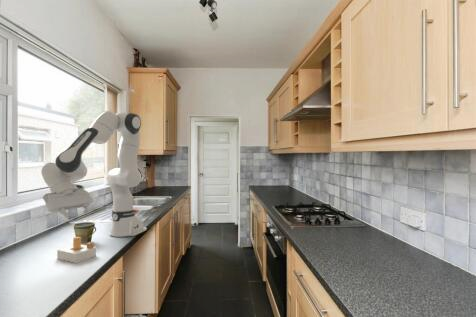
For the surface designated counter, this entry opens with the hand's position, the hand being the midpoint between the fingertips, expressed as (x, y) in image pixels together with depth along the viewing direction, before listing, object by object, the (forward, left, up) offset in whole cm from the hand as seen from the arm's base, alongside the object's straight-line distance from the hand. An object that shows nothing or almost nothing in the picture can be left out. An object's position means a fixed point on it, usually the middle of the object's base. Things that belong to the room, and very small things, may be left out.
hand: (78, 214), depth 126 cm
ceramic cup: (-16, -14, -20) cm, 29 cm away
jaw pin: (0, 0, -19) cm, 19 cm away
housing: (0, 0, -19) cm, 19 cm away
